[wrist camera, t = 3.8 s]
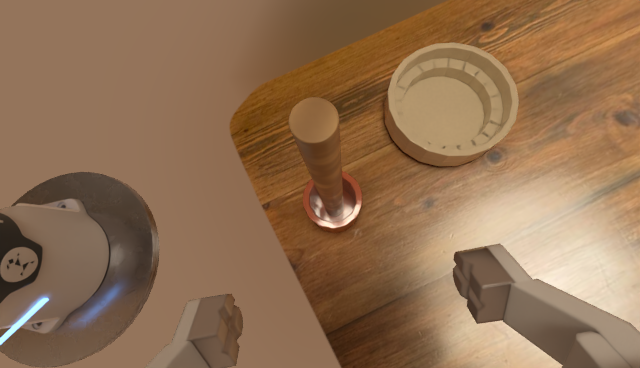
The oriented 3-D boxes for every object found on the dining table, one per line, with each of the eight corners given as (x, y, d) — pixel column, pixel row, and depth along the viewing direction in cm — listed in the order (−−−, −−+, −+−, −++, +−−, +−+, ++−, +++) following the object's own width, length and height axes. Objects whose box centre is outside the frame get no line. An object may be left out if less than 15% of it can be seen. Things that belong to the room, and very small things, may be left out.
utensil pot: (310, 233, 39) (302, 229, 32) (310, 184, 41) (303, 170, 34) (360, 233, 39) (363, 228, 32) (358, 183, 40) (361, 168, 33)
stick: (325, 216, 39) (287, 144, 14) (325, 198, 39) (289, 97, 14) (343, 216, 39) (339, 142, 13) (343, 198, 39) (338, 95, 14)
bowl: (386, 169, 40) (392, 157, 35) (380, 69, 44) (384, 46, 39) (506, 166, 39) (528, 153, 34) (489, 63, 43) (507, 38, 38)
